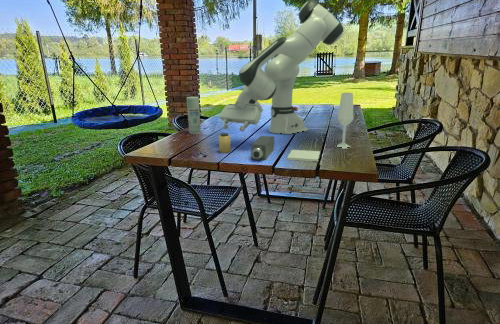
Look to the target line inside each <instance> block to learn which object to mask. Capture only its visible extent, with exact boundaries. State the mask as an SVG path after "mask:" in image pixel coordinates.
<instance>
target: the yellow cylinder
mask: <svg viewBox="0 0 500 324" xmlns="http://www.w3.org/2000/svg"><path fill="white" fill-rule="evenodd" d="M231 145H232V144H231V135H230V134H229V133H227V132H222V133H220V135H218V146H219V147H218V148H219V150H218V152H219V153H220V154H229V153H231V151H232V149H231V148H232V147H231Z"/></svg>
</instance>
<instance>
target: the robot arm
mask: <svg viewBox="0 0 500 324" xmlns="http://www.w3.org/2000/svg"><path fill="white" fill-rule="evenodd" d="M298 20H299V21H300V23H301V25H299V27H297V29H296V30H295V31H294V32H293V33H292V34H291V35H289V36H287V37H286V36H285V37H284V36H281V37H279V38H277V39H276V40H275V41H274V42H272V43H270V44H269V45H268V46H267V47H266V48H264V49H263V50H262V51H261V52H260V53H259V54H257V56H255V57H253V59H251V60H250V61H248V62H247V63H245V64H244V65H243V66H242V67H241V68H240V70H239V72H238V76H239V77H238V78H239V82H240V83H241V84H242V85H243V87H242V90H241V92H240V93H239V94H238V97H237V99H236V101H235V102H234V103H228V104H226V105H225V106H224V107H223V108H222V110H221V112H220V113H219V115H218V116H219V119H220V120H221V122H223V125H222V129H223V130H228V128H229V126H228V124H229V123H234V124H237V123H238V124H242V125H240V127H239V131H240V132H245V130H246V129H247V128H248V127H249V126H250V125H254V126H255V125H258V124H259V122H260V120H261V117H262V113H263V111H264V109H263V107H262V105H261V103H260V101H262V102H263V101H269V100H271V106H270V107H271V108H270V116H271V119H270V126H269V130H268V132H270V133H273V134H280V133H282V134H285V135H292V133H294V134H298V133H297V132H299V133H303V132H302V131H304V132H308V131H309V129H308V127H305V122H304V119H303V118H301V117H300V116H299V114H297V113H295V111H296V112H297V111H298V110H299V108H298V107H297V106H293V90H294V86H295V83H296V79H297V77H298V76H299V74H300V64H301V63H303V62H304V61H305V60H307V58H308V57H309V56H310V55H311V54H312V52H313V51H314V50H315V49H316V48H317V46H319V44H320V43H321V42H322V44H325V45H327V46H331V45H333V44H336V43H337V42H338V41H339V40H340V39H341V38H342V35H343V33H344V30H345V29H344V26H343V25H342V23H341V22H339V21H338V19H336V17H335V16H334V14H333V13H331V12H329V10H327V9H326V8H325V7H324V6H322V5H321V4H320V3H319V2H318V1H316V0H308V1H307V2H305V3H304V4H303V5H302V6H301V8H300V10H299V13H298ZM272 58H273V59H272ZM263 66H264V70H263V69H262V67H263ZM307 130H308V131H307Z"/></svg>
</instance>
